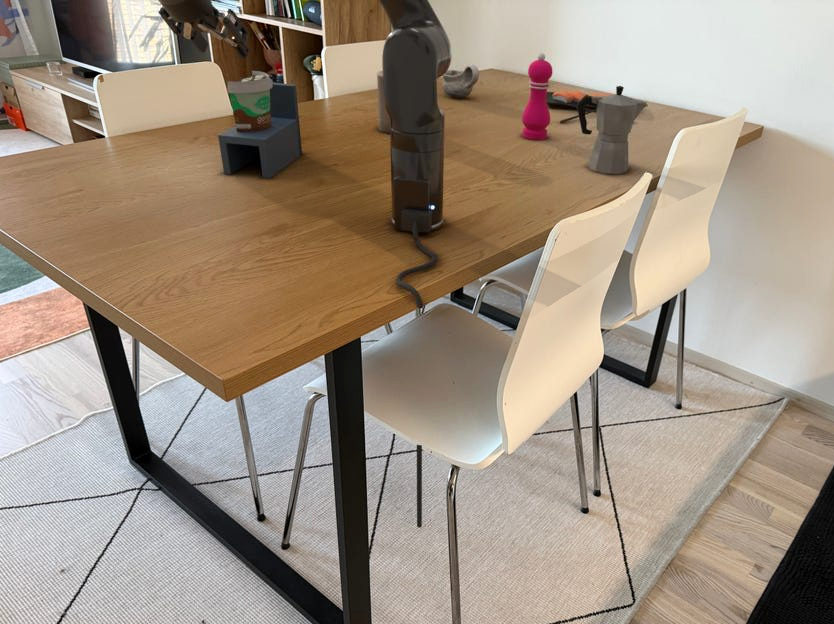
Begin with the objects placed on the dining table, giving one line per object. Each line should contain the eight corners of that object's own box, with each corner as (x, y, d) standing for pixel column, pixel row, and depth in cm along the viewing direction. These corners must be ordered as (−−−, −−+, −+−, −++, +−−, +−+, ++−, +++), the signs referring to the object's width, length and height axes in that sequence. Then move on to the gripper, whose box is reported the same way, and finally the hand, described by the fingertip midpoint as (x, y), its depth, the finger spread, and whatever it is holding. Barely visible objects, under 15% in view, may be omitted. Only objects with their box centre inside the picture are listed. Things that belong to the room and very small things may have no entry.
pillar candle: (419, 134, 177) (418, 71, 169) (380, 134, 175) (378, 71, 167) (413, 124, 185) (413, 63, 177) (376, 124, 183) (374, 63, 175)
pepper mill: (521, 132, 184) (527, 49, 173) (548, 134, 183) (557, 51, 172) (519, 139, 178) (526, 54, 167) (548, 141, 177) (556, 56, 166)
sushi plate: (633, 104, 216) (635, 91, 214) (638, 129, 191) (641, 115, 189) (539, 97, 219) (541, 84, 217) (532, 121, 194) (533, 106, 192)
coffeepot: (633, 163, 165) (647, 83, 155) (639, 176, 157) (654, 92, 147) (568, 159, 165) (577, 79, 155) (571, 172, 157) (581, 88, 147)
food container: (262, 136, 142) (255, 84, 136) (233, 133, 143) (226, 81, 137) (286, 121, 152) (281, 72, 147) (259, 118, 153) (253, 70, 147)
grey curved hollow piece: (453, 91, 220) (454, 57, 214) (487, 98, 214) (489, 63, 209) (435, 97, 213) (436, 61, 207) (470, 103, 207) (471, 67, 202)
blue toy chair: (269, 178, 145) (260, 103, 136) (223, 173, 146) (212, 98, 138) (302, 153, 160) (296, 84, 151) (260, 149, 161) (252, 80, 152)
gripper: (221, -31, 111) (266, 39, 127) (145, -41, 114) (198, 29, 130) (204, 8, 110) (252, 75, 125) (128, -3, 112) (183, 63, 128)
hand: (225, 51), depth 127 cm, fingers open, 8 cm apart
